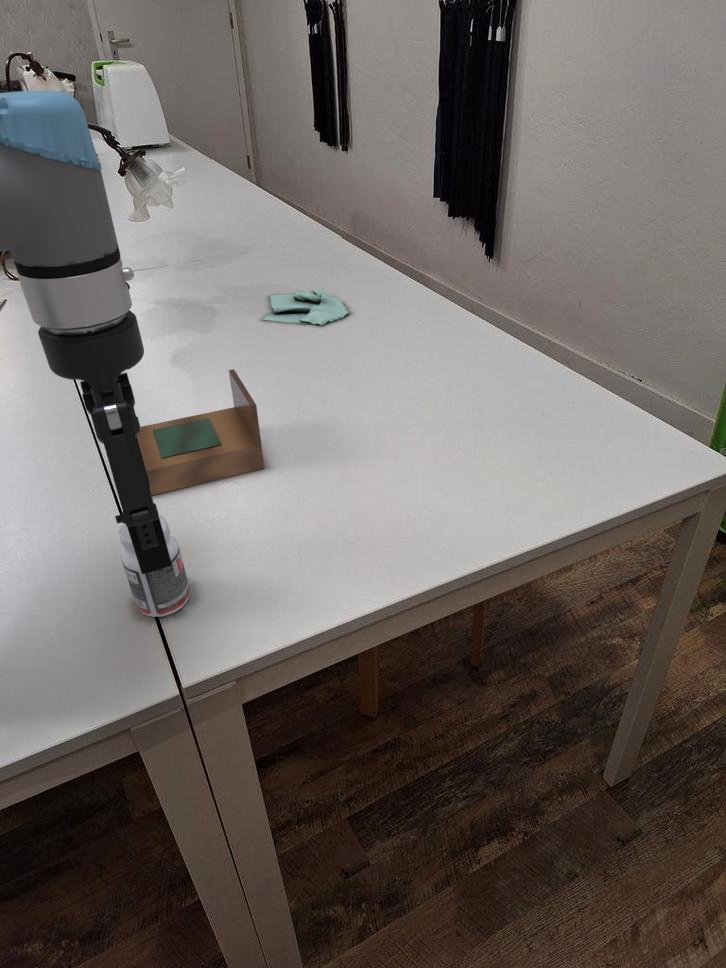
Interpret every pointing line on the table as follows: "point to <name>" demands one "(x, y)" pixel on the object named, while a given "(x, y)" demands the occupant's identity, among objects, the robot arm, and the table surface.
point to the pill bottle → (156, 577)
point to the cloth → (306, 308)
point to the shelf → (203, 445)
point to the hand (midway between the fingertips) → (146, 525)
